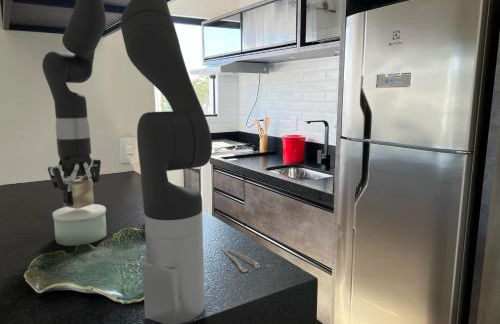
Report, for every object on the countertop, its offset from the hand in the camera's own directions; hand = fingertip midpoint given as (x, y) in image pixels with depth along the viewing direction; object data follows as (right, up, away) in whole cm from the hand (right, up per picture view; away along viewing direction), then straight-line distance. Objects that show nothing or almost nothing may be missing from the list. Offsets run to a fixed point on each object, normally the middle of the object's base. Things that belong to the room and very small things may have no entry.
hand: (79, 202), depth 95 cm
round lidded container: (0, -9, +2) cm, 9 cm away
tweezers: (+39, -12, -10) cm, 42 cm away
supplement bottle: (+17, -7, +12) cm, 22 cm away
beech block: (0, -1, 0) cm, 1 cm away
